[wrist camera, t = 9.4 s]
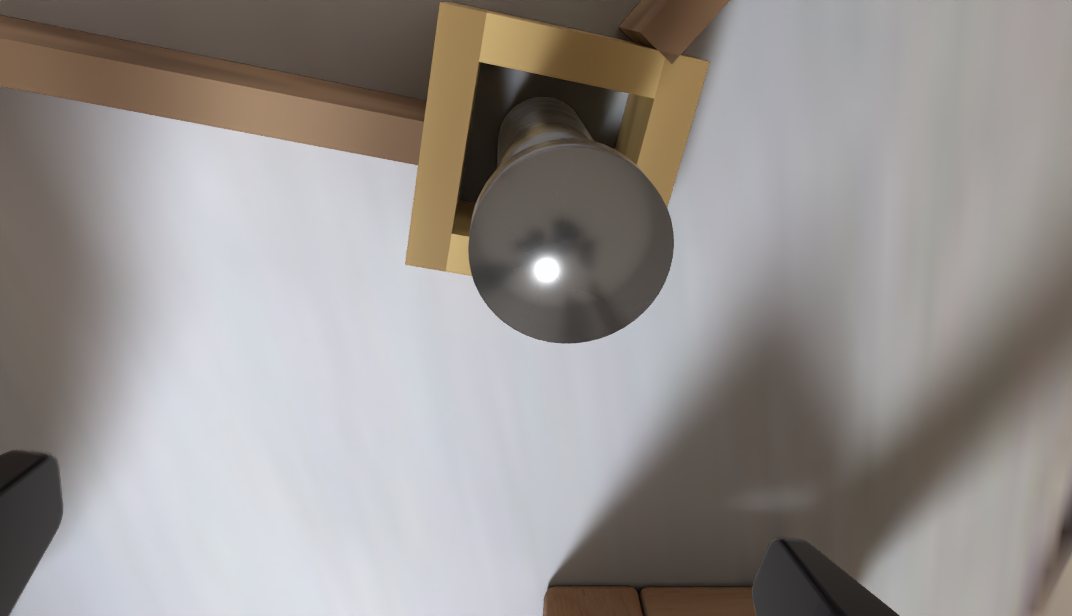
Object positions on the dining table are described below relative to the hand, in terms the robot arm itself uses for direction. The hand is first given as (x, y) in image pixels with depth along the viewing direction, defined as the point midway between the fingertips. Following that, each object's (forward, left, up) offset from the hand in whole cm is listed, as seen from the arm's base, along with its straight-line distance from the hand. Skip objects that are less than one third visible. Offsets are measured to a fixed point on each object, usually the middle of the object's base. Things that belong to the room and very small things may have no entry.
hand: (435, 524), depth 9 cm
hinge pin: (+1, +3, -12) cm, 12 cm away
